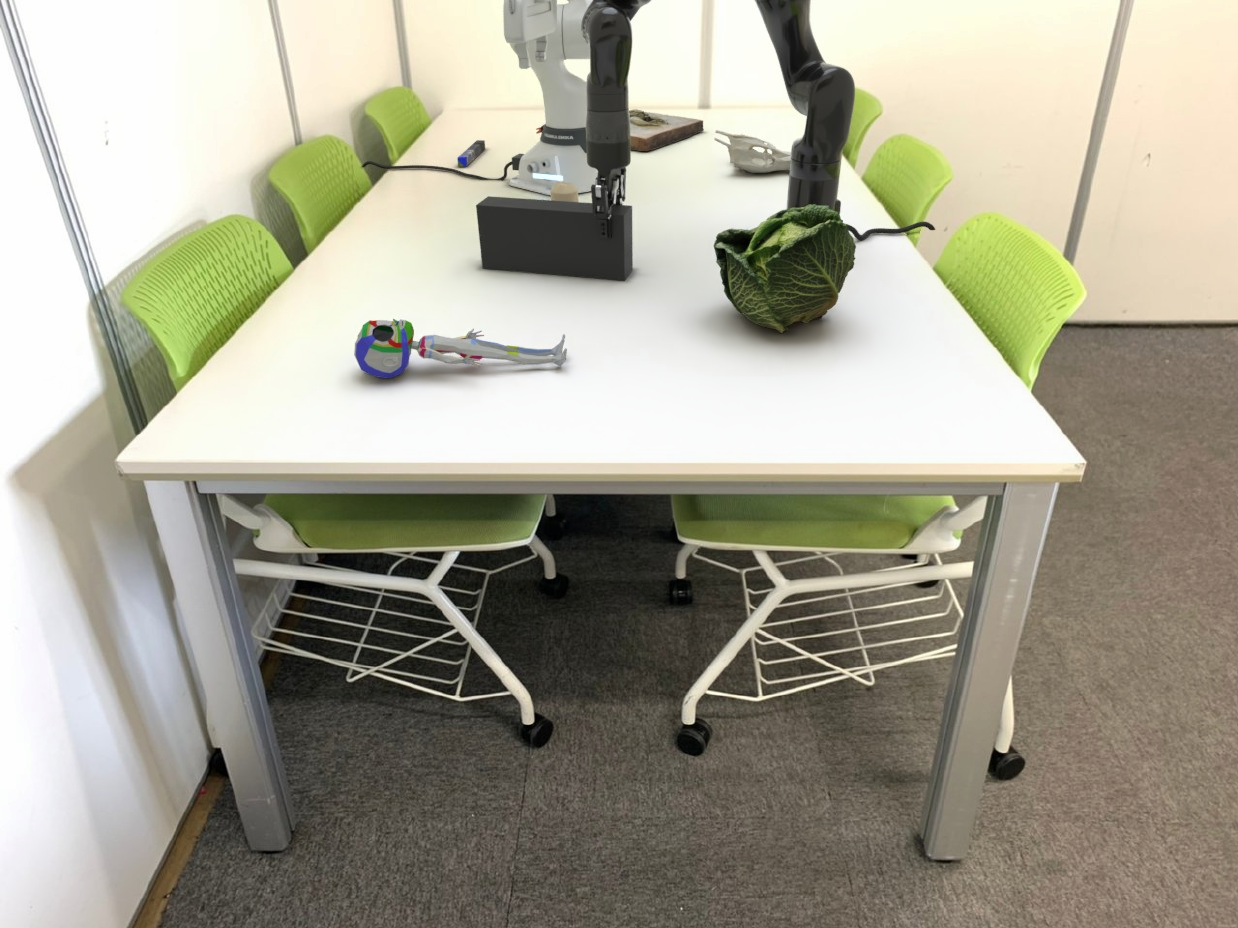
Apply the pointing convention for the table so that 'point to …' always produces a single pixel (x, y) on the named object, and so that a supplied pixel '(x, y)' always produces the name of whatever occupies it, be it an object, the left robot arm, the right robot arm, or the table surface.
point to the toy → (435, 349)
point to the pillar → (471, 153)
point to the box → (553, 238)
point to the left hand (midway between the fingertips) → (533, 65)
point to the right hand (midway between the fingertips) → (610, 233)
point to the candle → (564, 192)
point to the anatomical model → (754, 154)
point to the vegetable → (786, 265)
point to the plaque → (659, 129)
